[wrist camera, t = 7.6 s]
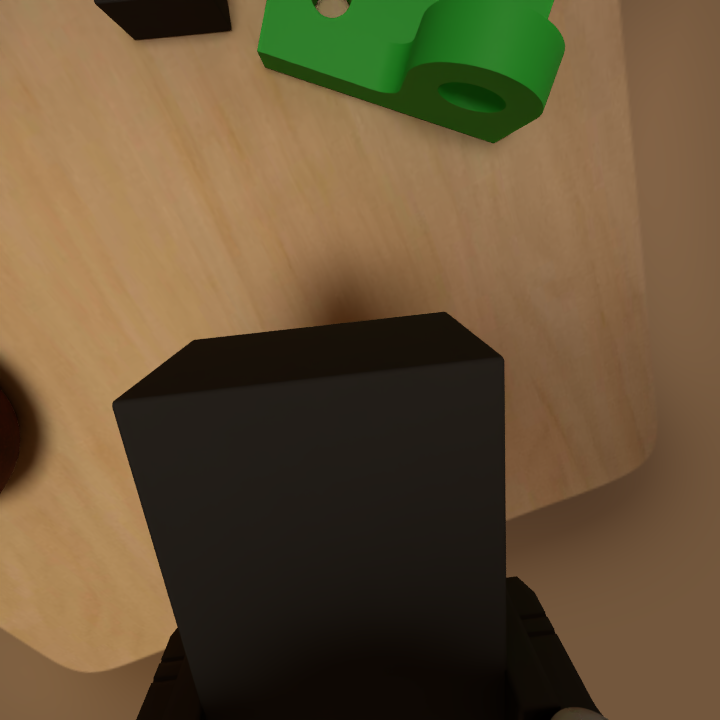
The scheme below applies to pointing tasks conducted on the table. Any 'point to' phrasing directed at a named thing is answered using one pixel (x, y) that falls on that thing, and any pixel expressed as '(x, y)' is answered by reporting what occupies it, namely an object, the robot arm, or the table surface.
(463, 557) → the black box
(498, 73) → the mechanical part
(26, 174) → the table surface
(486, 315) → the table surface
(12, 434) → the vase
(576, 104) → the table surface
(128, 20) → the base pad
